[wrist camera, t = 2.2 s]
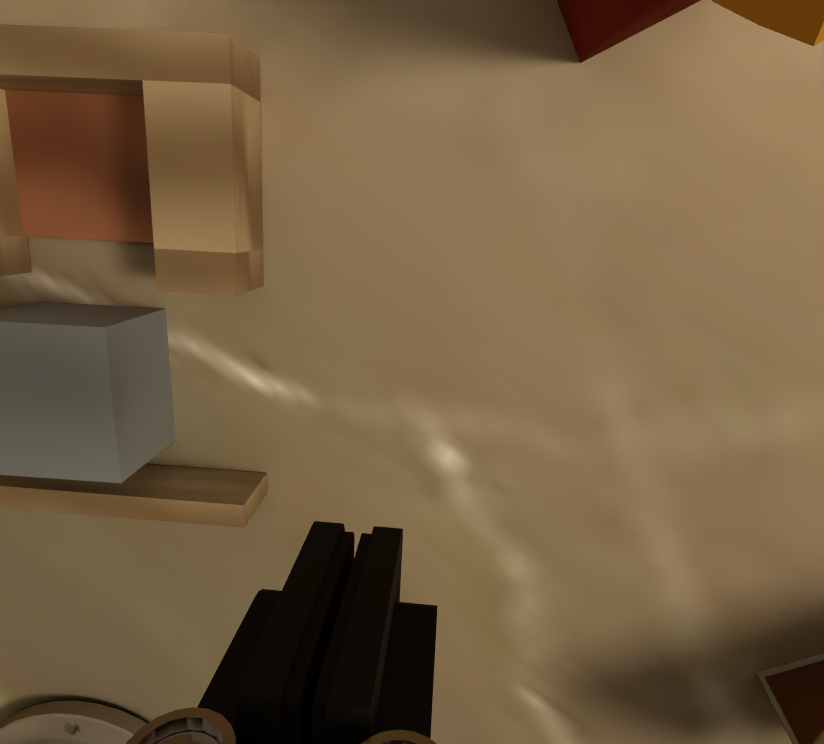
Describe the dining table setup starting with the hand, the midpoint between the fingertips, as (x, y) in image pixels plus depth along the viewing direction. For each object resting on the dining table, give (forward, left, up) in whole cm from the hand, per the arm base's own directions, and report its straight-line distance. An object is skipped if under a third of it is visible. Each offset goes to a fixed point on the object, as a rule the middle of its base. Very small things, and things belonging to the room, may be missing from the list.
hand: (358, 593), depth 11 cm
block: (0, +13, -14) cm, 20 cm away
